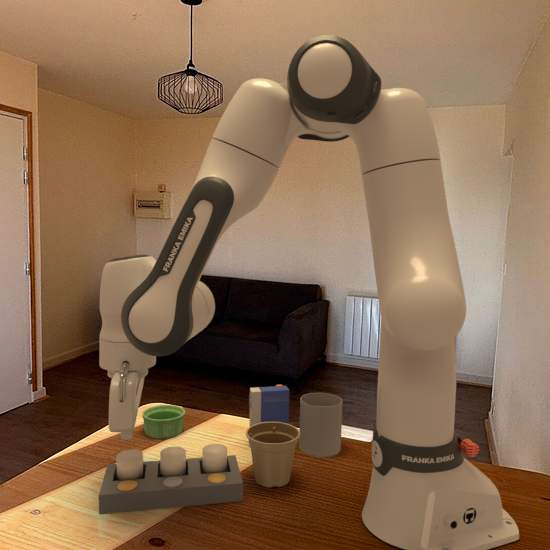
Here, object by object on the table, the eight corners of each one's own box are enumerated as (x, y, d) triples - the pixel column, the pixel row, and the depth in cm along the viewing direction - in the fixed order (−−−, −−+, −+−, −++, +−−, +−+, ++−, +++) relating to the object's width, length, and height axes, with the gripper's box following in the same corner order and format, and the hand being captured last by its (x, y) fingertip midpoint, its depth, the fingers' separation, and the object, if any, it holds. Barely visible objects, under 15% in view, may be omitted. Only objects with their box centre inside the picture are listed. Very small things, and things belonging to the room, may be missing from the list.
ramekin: (174, 442, 100) (174, 422, 100) (134, 437, 102) (134, 417, 102) (191, 426, 109) (191, 407, 109) (154, 421, 111) (154, 402, 111)
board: (235, 471, 89) (235, 454, 88) (242, 500, 79) (243, 481, 79) (107, 481, 84) (107, 463, 84) (98, 514, 75) (98, 493, 74)
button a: (225, 461, 87) (225, 443, 86) (228, 473, 83) (228, 453, 82) (201, 463, 86) (201, 444, 86) (203, 475, 82) (203, 455, 81)
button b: (185, 464, 85) (185, 445, 85) (185, 476, 81) (186, 456, 81) (160, 466, 84) (160, 447, 84) (159, 478, 80) (159, 458, 80)
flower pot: (294, 497, 80) (295, 446, 80) (238, 489, 82) (239, 440, 82) (302, 470, 90) (303, 424, 89) (252, 464, 92) (253, 419, 91)
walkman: (284, 440, 102) (285, 383, 101) (288, 445, 100) (289, 388, 99) (247, 443, 101) (248, 386, 99) (250, 449, 98) (251, 390, 97)
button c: (143, 467, 84) (143, 448, 84) (142, 479, 80) (142, 459, 80) (118, 469, 83) (118, 450, 83) (115, 482, 79) (115, 461, 79)
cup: (295, 453, 96) (296, 404, 95) (302, 437, 104) (304, 391, 103) (338, 459, 94) (340, 408, 93) (342, 441, 102) (344, 395, 101)
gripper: (144, 372, 70) (143, 465, 71) (151, 339, 90) (150, 412, 91) (98, 373, 69) (97, 467, 70) (115, 340, 89) (114, 414, 90)
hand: (127, 436), depth 81 cm, fingers closed
